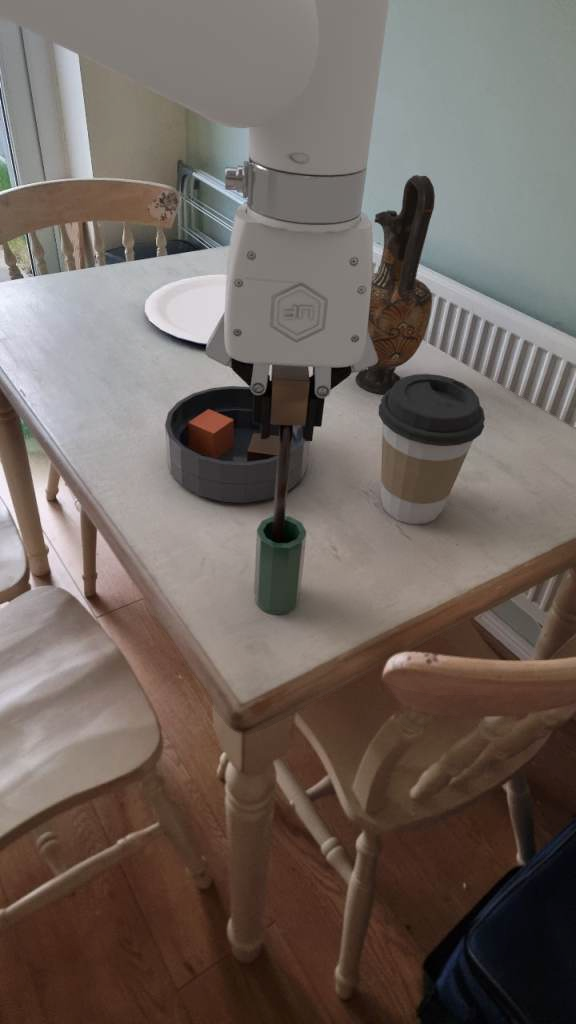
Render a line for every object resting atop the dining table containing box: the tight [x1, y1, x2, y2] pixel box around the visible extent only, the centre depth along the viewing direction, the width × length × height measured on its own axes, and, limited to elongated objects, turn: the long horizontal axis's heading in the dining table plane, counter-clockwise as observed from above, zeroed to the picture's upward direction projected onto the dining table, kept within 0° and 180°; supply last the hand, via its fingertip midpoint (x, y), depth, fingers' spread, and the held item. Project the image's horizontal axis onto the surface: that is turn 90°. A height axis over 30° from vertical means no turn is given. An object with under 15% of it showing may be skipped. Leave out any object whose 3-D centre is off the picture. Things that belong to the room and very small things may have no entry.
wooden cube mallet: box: [270, 365, 310, 543], centre depth 59 cm, size 3×3×18 cm
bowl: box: [164, 385, 311, 504], centre depth 85 cm, size 17×17×6 cm
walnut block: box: [247, 433, 279, 462], centre depth 84 cm, size 4×4×4 cm
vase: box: [355, 174, 436, 395], centre depth 95 cm, size 12×12×30 cm
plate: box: [144, 274, 227, 346], centre depth 119 cm, size 29×29×2 cm
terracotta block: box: [188, 409, 234, 459], centre depth 87 cm, size 4×4×4 cm
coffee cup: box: [378, 373, 486, 526], centre depth 77 cm, size 11×11×15 cm
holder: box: [253, 515, 307, 616], centre depth 67 cm, size 4×5×9 cm
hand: (286, 429), depth 56 cm, fingers closed on wooden cube mallet, 2 cm apart
